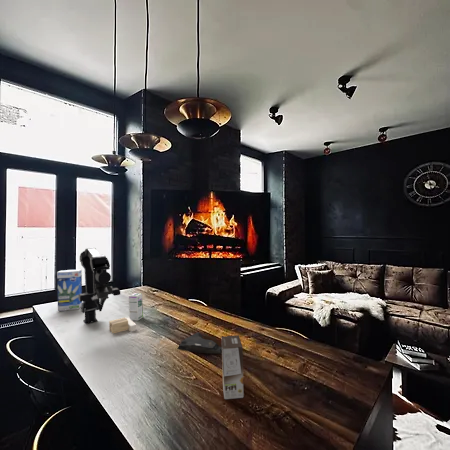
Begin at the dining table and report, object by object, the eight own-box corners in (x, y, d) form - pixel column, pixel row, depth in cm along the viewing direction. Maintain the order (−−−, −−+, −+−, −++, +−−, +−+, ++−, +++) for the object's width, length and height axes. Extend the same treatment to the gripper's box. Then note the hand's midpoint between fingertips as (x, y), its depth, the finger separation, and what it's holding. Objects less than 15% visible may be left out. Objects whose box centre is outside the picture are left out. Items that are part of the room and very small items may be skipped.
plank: (122, 323, 145) (122, 318, 145) (128, 322, 147) (128, 317, 147) (130, 331, 134) (130, 326, 134) (136, 330, 136) (136, 324, 136)
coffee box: (244, 398, 81) (243, 347, 81) (224, 399, 81) (222, 348, 81) (240, 380, 90) (239, 334, 90) (222, 381, 90) (220, 335, 90)
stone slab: (232, 352, 115) (233, 342, 114) (206, 370, 102) (206, 358, 102) (198, 334, 130) (198, 325, 129) (171, 348, 117) (171, 337, 117)
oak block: (109, 330, 137) (109, 321, 137) (125, 326, 142) (124, 317, 142) (112, 334, 132) (112, 324, 132) (128, 329, 137) (128, 320, 137)
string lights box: (57, 311, 170) (56, 272, 170) (61, 307, 178) (60, 270, 178) (79, 309, 174) (78, 270, 173) (82, 305, 181) (81, 268, 181)
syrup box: (138, 320, 149) (137, 295, 149) (129, 320, 151) (128, 295, 151) (143, 317, 155) (142, 293, 155) (134, 316, 156) (133, 292, 156)
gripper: (81, 286, 120) (82, 320, 120) (123, 280, 131) (123, 310, 131) (77, 282, 129) (78, 313, 129) (117, 277, 140) (117, 305, 140)
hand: (100, 311), depth 132 cm, fingers closed
